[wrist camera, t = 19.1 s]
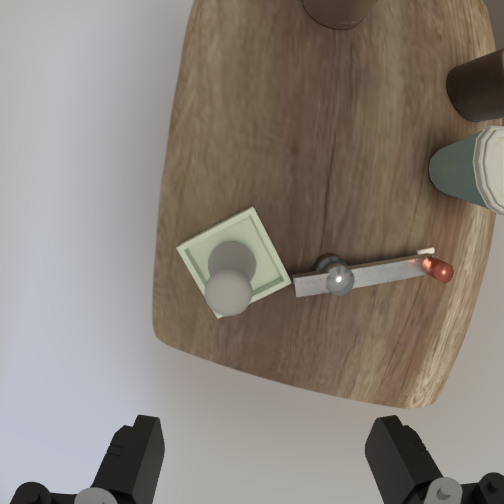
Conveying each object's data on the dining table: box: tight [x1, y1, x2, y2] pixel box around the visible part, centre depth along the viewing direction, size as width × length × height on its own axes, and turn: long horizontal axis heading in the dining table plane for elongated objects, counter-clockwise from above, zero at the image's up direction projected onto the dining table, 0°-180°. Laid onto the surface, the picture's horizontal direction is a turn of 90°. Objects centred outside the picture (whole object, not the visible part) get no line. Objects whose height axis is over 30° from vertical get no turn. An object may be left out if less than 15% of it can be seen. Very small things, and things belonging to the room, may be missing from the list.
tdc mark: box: [417, 247, 434, 255], centre depth 40 cm, size 3×1×1 cm, turn 99°
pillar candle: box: [447, 49, 504, 122], centre depth 28 cm, size 10×10×15 cm
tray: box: [177, 206, 292, 319], centre depth 38 cm, size 10×10×3 cm
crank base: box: [313, 254, 348, 271], centre depth 39 cm, size 4×4×2 cm
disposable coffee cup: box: [429, 126, 504, 215], centre depth 30 cm, size 11×11×15 cm
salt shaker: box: [205, 241, 257, 316], centre depth 32 cm, size 6×6×13 cm
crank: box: [292, 253, 454, 297], centre depth 35 cm, size 20×4×7 cm, turn 98°
